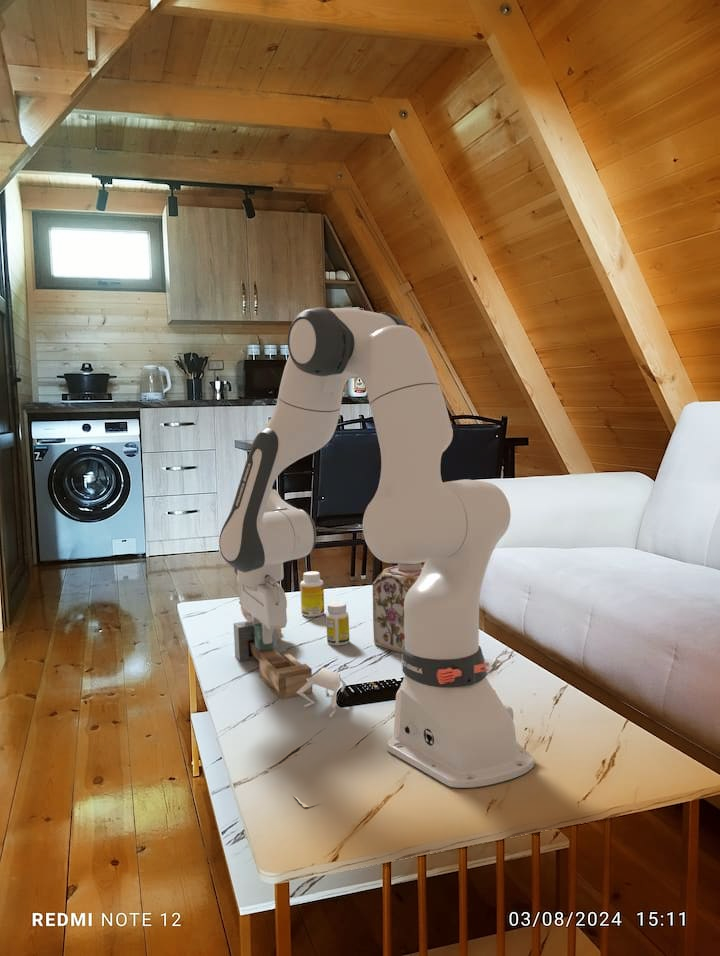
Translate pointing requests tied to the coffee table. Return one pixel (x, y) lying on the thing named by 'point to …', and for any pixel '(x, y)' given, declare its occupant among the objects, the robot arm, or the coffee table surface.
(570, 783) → the coffee table surface
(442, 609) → the robot arm
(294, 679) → the guide channel
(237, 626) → the socket block
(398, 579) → the decorative jar
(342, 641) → the supplement bottle
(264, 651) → the slide bar
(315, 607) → the supplement bottle
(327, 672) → the origami figure
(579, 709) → the coffee table surface
